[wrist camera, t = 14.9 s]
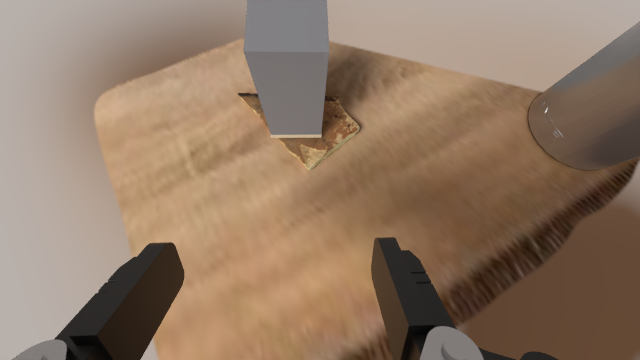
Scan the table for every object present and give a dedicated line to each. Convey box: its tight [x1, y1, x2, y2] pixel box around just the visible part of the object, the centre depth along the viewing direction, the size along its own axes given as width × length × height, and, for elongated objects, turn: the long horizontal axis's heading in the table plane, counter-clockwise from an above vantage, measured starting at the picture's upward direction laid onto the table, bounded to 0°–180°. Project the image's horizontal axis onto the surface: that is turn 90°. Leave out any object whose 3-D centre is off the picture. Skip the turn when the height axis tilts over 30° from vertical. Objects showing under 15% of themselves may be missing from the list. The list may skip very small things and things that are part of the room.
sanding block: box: [244, 0, 329, 138], centre depth 18 cm, size 5×5×10 cm
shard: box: [238, 93, 360, 171], centre depth 25 cm, size 11×8×2 cm
